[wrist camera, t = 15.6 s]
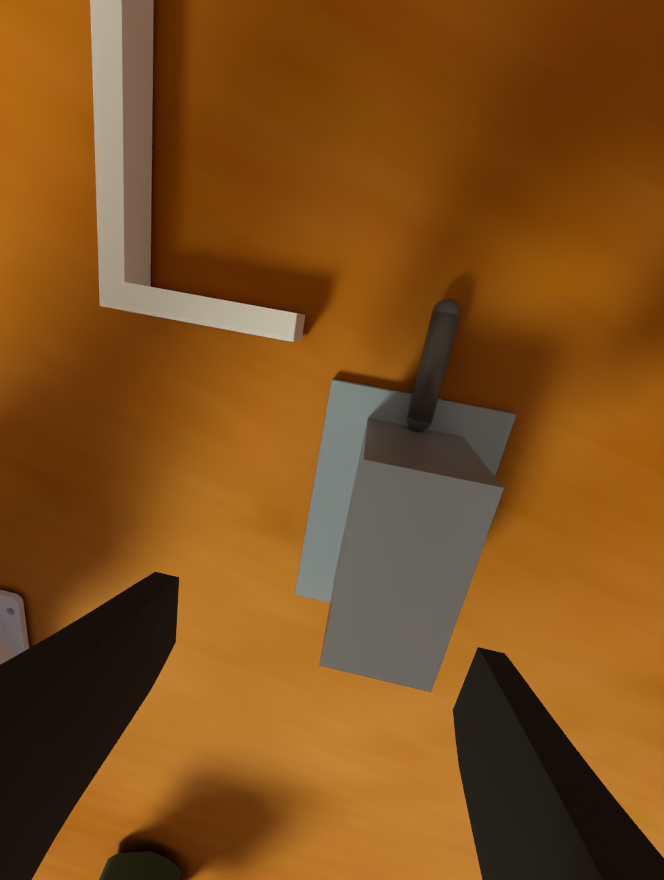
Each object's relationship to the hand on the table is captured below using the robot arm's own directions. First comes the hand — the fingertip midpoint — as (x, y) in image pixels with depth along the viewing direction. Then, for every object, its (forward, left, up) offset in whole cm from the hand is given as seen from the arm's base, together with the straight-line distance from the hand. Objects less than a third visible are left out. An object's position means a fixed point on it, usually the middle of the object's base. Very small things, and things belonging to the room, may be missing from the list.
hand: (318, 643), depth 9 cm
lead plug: (+2, -2, -8) cm, 9 cm away
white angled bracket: (+12, +7, -8) cm, 16 cm away
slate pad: (-1, -2, -9) cm, 9 cm away
